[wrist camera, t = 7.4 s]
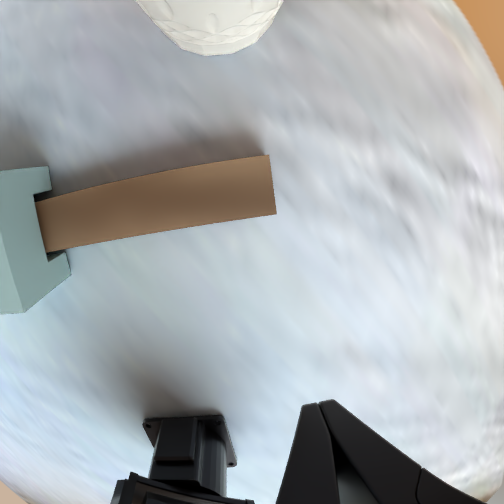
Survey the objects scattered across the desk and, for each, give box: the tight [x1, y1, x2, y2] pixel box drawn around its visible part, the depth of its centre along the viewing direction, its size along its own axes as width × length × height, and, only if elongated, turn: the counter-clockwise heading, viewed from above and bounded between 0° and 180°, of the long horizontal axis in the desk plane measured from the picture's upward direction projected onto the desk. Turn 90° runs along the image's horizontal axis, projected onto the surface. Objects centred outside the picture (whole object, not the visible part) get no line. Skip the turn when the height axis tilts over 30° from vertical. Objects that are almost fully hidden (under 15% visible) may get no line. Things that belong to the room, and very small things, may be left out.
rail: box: [35, 155, 277, 253], centre depth 14 cm, size 6×22×7 cm, turn 98°
